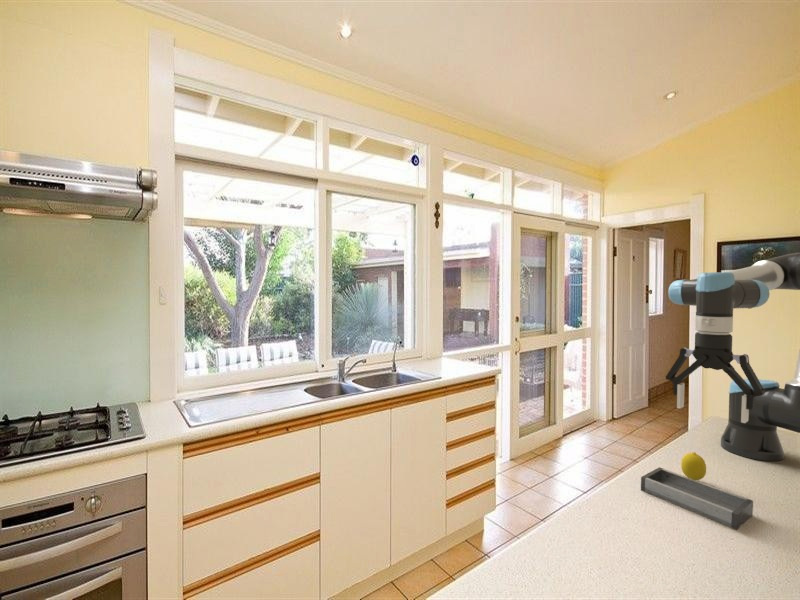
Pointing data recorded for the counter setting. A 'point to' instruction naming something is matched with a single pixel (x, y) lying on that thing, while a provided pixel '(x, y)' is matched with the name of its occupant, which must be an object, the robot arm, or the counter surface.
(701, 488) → the tray
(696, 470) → the lemon
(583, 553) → the counter surface
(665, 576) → the counter surface
